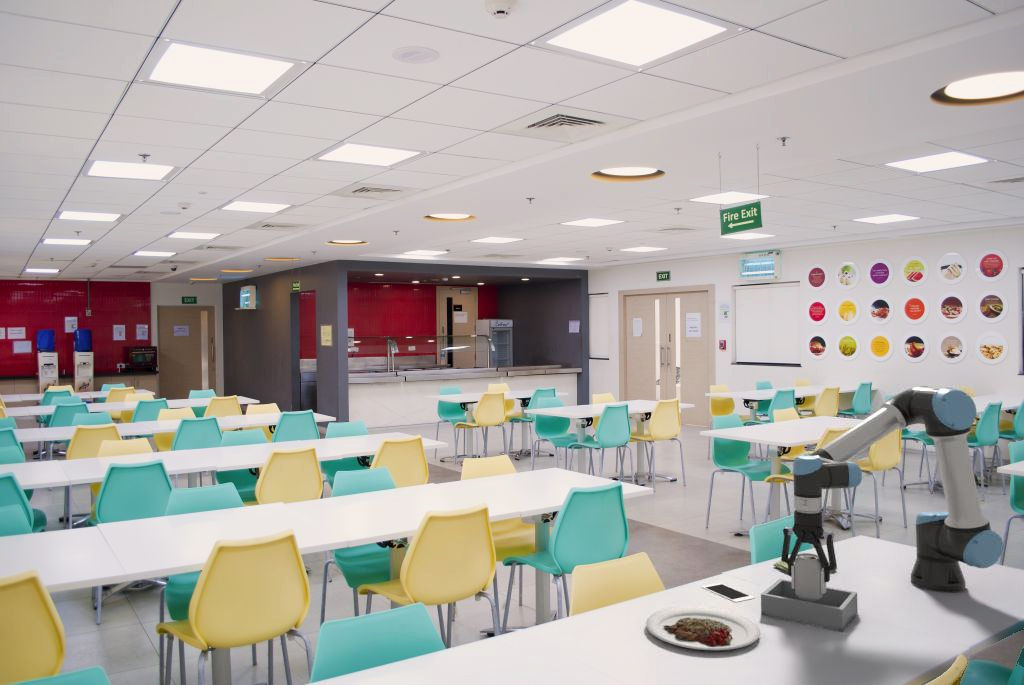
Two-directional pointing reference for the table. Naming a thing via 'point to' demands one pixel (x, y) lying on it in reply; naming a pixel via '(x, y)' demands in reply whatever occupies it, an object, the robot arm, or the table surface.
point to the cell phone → (728, 592)
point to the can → (808, 576)
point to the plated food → (703, 628)
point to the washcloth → (784, 566)
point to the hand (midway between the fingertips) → (808, 589)
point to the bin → (810, 606)
